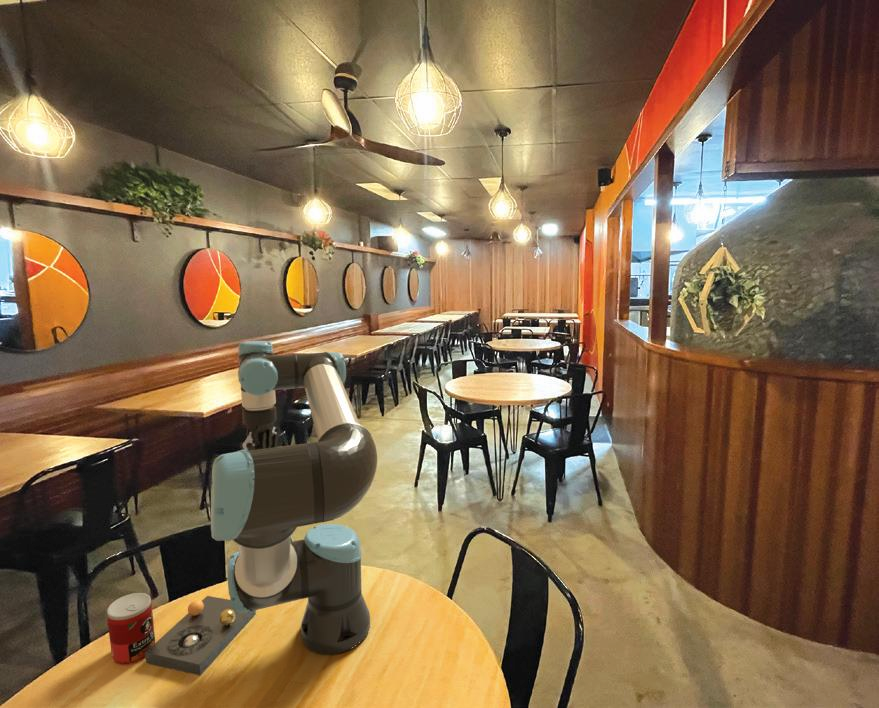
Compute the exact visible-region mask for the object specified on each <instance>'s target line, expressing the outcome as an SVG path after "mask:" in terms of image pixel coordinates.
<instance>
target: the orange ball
mask: <svg viewBox="0 0 879 708" xmlns="http://www.w3.org/2000/svg"><path fill="white" fill-rule="evenodd" d="M203 608H204V604H203V602H202V600H200V599H193V600H192V601H191V602H190V603H189V605H188V606H187V611H188V613H189V614H190V615H192V616H196V615H198V614H200V613H201V612H202V610H203ZM188 613H187V614H188Z"/></svg>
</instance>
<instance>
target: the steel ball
mask: <svg viewBox="0 0 879 708" xmlns="http://www.w3.org/2000/svg"><path fill="white" fill-rule="evenodd" d="M199 642H200V639H199V637H198V636H197V635H190V636H188V637H187V638H186V639H185V640H184V642H183V648H184V649H185V648H190V647H193V646H195V645H197V644H198V643H199Z"/></svg>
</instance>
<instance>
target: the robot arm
mask: <svg viewBox="0 0 879 708" xmlns="http://www.w3.org/2000/svg"><path fill="white" fill-rule="evenodd" d="M237 350H238V354H237V356H238V357H237V358H238V371H237V376H238V377H237V378H238V382H239V384H240V393H241V406H242V407H243V408H242V410H241V414H242V415H241V417H242V423H243V425H245V426H246V434H245V435H246V439H245V440H244V441H240V442H239V447H240V449H239V450H236V451H233V452H228V453H222V454H219V455H218V456H217V457H216V458H215V459H214V461H213V463H212V467H211V468H212V469H211V488H210V490H211V492H210V495H211V496H210V533H211V538H212V539H214V540H215V541H216V542H219V541H225V542H229V541H233V542H234V543H235V544H237V545H238V548H239V551H237V552H234V553H232V554H231V555H230V557H229V560H228V563H227V588H228V589H227V590H228V596H229V597H230V599H229V600H230V601H231V605H232V607H233V609H234V610H235V611H236V612H238V613H244V612H254V611H259V610H262V609H267V608H270V607H275V606H278V605H283V604H286V603H291V602H295V601H299V600H303V599H304V600H305V599H307V604H306V606H305V610H304V613H303V616H302V620H301V623H300V624H301V625H300V634H301V635H300V638H301V640H302V643H303V645H304V647H306V648H307V649H308V650H310V651H311V652H313V653H317V654H318V655H319V654H320V655H339V654H343V653H346V652H348V651H350V650H349V649H351V648H352V647H354V646H355V645H357V644H358V643H359V642H361V641H362V640H363V639H364V638H365V636H366V635H367V633H368V631H369V632H370V630H369V629H371V615H370V614H371V613H370V610H369V607H368V606H367V603H366V601H365V598H364V596H363V592H362V549H361V541H360V537H359V535H358V534H357V532H356V531H354V530H353V529H352V528H351V527H349V526H346V525H344V524H343V525H342V524H337V523H327V522H331V521H334V520H336V519H339V518H341V517H343V516H345V515H346V514H348V513H349V512H350V511H352V510H353V509H354V508H355V507H356V506H358V504H360V502H361V501H362V500H363V499H364V497H365V496H366V494H367V493H368V491H369V489H370V487H371V486H372V483H373V481H374V479H375V475H376V472H377V467H378V451H377V446H376V444H375V441H374V439H373V437H372V434H371V432H370V430H369V429H367V428H366V427H365V426H363V425H362V424H360V421H359V419H358V417H357V414H356V413H355V409H354V406H353V405H352V402H351V401H350V397H349V395H348V393H347V391H346V388H345V387H344V383H345V381H346V378H347V377H346V376H347V368H346V362H345V358H344V355H343V354H342V353H341V352H333V351H331V352H329V351H323V352H312V353H311V352H309V353H295V354H275V353H274V348H273V344H272V342H271V341H267V340H248V341H243V342H240V343H239V344H238V349H237ZM302 388H303V389H304V390H305V394H306V398H307V401H308V406H309V409H310V413H311V417H312V421H313V425H314V430H315V433H316V436H317V441H315V442H309V443H307V442H306V443H299V444H291V445H284V446H278V445H279V444H278V443H279V442H278V441H279V435H280V431H281V428H280V427H275V426H274V423H275V422H276V421H277V417H278V416H277V406H275V404H276V403H277V397H276V391H278V390H279V391H281V390H291V389H302ZM321 523H322V524H321ZM325 523H326V524H325ZM314 524H318V525H315V526H313V528H310V529H309V530H307V532H306V534H305V536H304V538H303V539H299V540H298V539H297V540H294V541H292V540H291V539H292V535H293V534H294V532H296V529H297V528H298V527H305V526H309V525H314ZM368 634H369V633H368ZM367 636H368V635H367ZM367 636H366V637H367ZM365 639H366V638H365ZM365 639H364V640H365ZM364 640H363V641H364ZM363 641H362V642H363ZM362 642H361V643H362ZM357 646H358V645H357ZM354 648H355V647H354ZM347 650H348V651H347ZM351 650H352V649H351ZM345 651H346V652H345ZM342 652H343V653H342Z"/></svg>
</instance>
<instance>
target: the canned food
mask: <svg viewBox="0 0 879 708" xmlns="http://www.w3.org/2000/svg"><path fill="white" fill-rule="evenodd" d="M106 619H107V628H108V634H109V635H108V636H109V643H110V650H111V651H110V652H111V658H112V660H113V662H114V663H115V664H117V665H122V666H126V665H127V666H128V665H131V664H135V663H138V662H140V661H142V660H143V659H146V658H145V652H146V651H147V650H148V649H149V648H150V647H151V646H153V645H154V644H155V643H156V636H155V623H154V614H153V605H152V598H151V596H150V595H149V593H148V594H147V593H145V592H132V593H129V594H126V595H124V596H121V597H119V598H117V599H116V600H114V601H113V602H112V603H111V604H110V605H109V606H108V607H107V610H106Z"/></svg>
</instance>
